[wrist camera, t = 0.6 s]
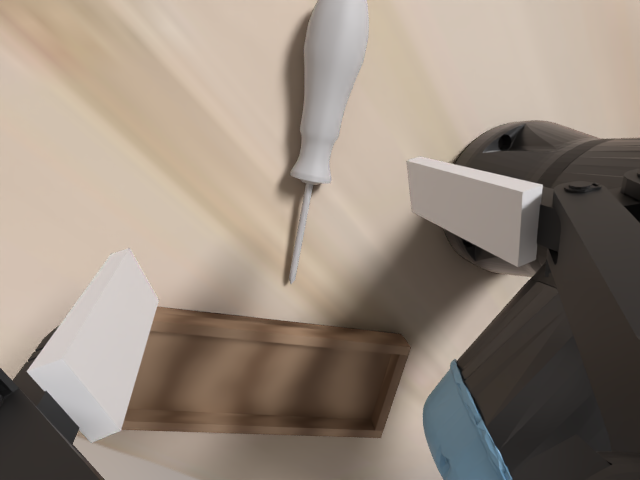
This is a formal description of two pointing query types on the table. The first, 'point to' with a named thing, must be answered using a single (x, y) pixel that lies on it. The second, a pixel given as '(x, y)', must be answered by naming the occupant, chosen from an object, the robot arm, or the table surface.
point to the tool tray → (264, 377)
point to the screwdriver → (326, 91)
